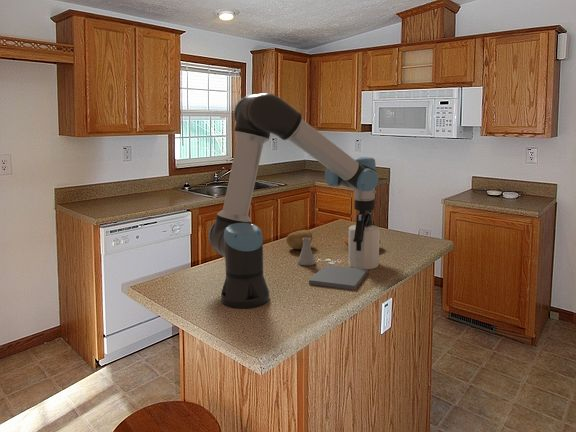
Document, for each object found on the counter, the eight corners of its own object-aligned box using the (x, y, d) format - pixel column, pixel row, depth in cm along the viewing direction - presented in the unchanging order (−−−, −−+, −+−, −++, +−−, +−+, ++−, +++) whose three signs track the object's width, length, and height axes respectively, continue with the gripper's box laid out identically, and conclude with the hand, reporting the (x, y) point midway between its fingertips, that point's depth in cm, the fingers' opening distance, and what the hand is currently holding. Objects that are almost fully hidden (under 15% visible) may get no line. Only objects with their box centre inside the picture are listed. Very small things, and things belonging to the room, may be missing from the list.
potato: (318, 246, 212) (318, 229, 210) (299, 254, 201) (299, 235, 199) (301, 243, 218) (300, 226, 216) (281, 250, 207) (281, 232, 205)
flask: (314, 266, 184) (314, 241, 182) (295, 265, 186) (295, 240, 184) (317, 261, 191) (317, 236, 189) (299, 260, 192) (299, 236, 190)
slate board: (354, 290, 159) (354, 285, 159) (309, 284, 165) (309, 280, 165) (367, 273, 175) (367, 269, 175) (325, 268, 181) (325, 264, 181)
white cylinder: (374, 270, 179) (375, 232, 176) (345, 267, 183) (345, 229, 180) (380, 261, 189) (381, 225, 186) (352, 259, 193) (353, 223, 190)
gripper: (366, 205, 168) (365, 264, 172) (381, 194, 190) (380, 246, 195) (345, 204, 171) (345, 261, 175) (362, 193, 193) (361, 244, 198)
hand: (363, 253), depth 185 cm, fingers open, 13 cm apart
